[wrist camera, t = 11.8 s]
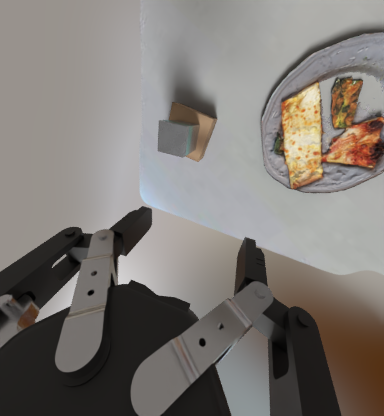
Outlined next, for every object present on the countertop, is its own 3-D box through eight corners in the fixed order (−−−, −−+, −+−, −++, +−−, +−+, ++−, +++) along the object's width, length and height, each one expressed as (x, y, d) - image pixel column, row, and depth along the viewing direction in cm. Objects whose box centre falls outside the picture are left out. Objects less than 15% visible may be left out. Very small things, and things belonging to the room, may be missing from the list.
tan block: (181, 103, 36) (172, 102, 32) (217, 119, 35) (213, 119, 31) (171, 143, 41) (163, 146, 37) (203, 157, 40) (197, 161, 36)
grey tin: (177, 119, 33) (158, 120, 26) (199, 124, 32) (187, 126, 25) (174, 144, 36) (157, 151, 29) (195, 150, 35) (183, 157, 28)
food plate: (396, 181, 31) (411, 188, 28) (266, 196, 40) (267, 202, 37) (442, 5, 21) (473, -14, 18) (256, 77, 30) (257, 73, 27)
